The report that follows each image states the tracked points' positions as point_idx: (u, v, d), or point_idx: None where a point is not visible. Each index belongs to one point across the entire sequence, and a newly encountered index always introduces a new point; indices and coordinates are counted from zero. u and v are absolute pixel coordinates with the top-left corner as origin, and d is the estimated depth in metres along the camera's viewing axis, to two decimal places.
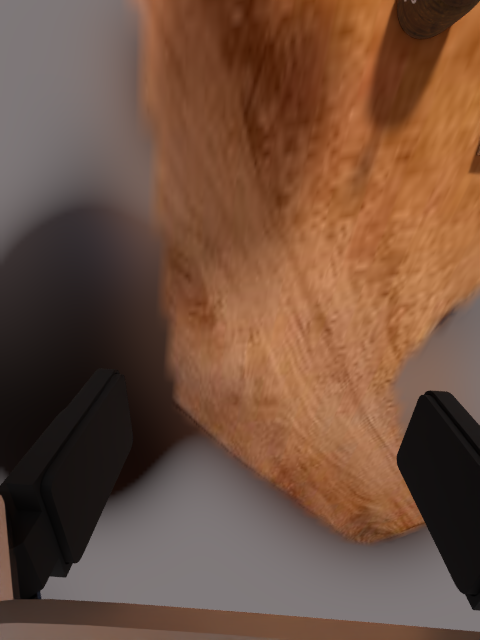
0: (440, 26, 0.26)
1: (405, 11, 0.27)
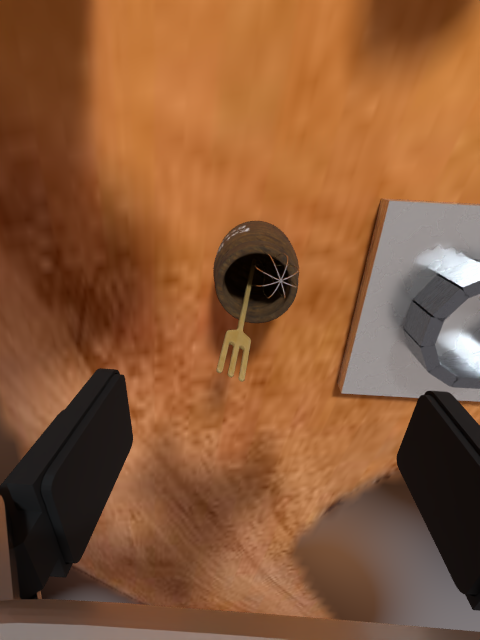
0: (256, 306, 0.23)
1: None
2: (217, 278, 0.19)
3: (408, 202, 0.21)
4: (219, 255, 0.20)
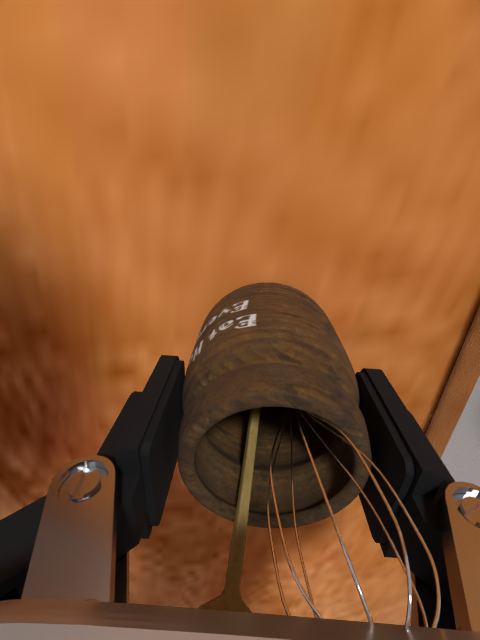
0: None
1: None
2: (180, 452, 0.08)
3: None
4: (191, 375, 0.09)
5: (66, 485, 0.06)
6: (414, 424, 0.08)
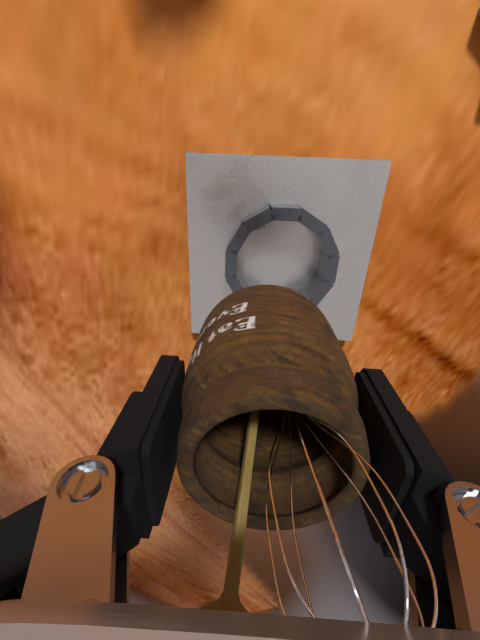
0: None
1: None
2: (179, 454, 0.08)
3: (201, 153, 0.26)
4: (191, 378, 0.09)
5: (66, 485, 0.06)
6: (414, 424, 0.08)
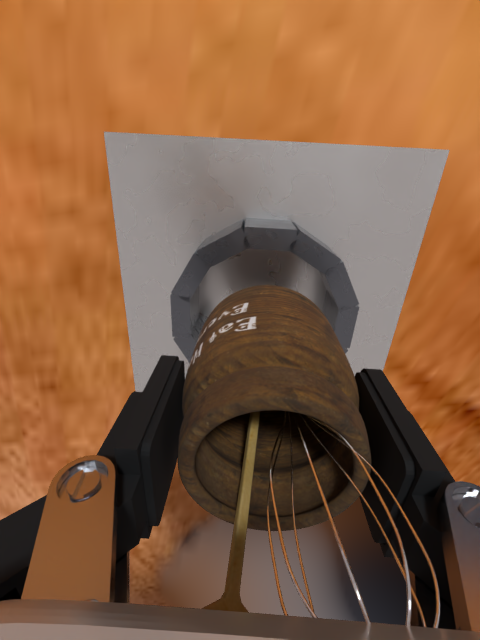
0: None
1: None
2: (180, 455, 0.08)
3: (131, 134, 0.15)
4: (191, 378, 0.09)
5: (66, 485, 0.06)
6: (414, 424, 0.08)
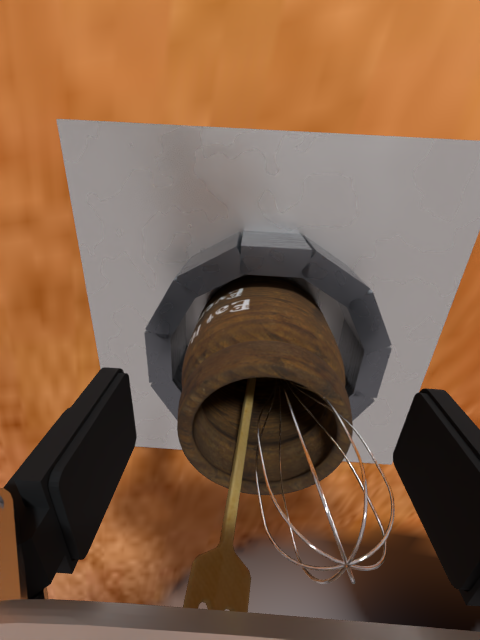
0: None
1: None
2: (179, 421, 0.09)
3: (92, 122, 0.12)
4: (190, 355, 0.10)
5: None
6: None
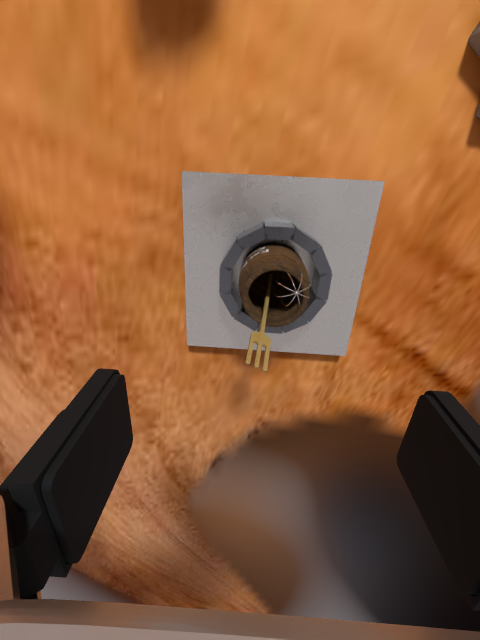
0: (273, 314, 0.28)
1: None
2: (243, 290, 0.23)
3: (197, 172, 0.26)
4: (244, 271, 0.24)
5: None
6: None
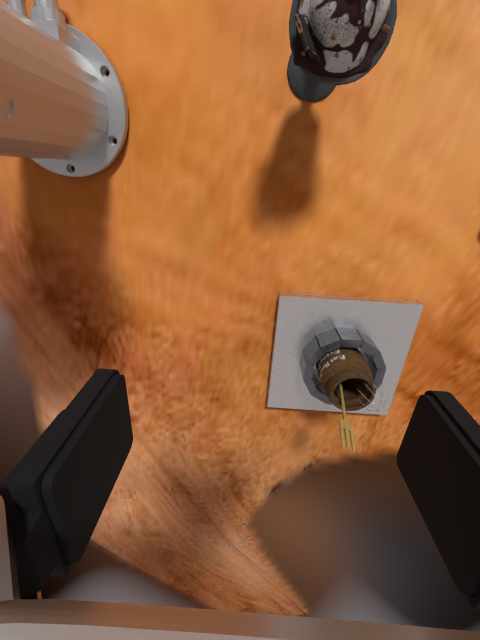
0: None
1: None
2: (331, 389, 0.34)
3: (291, 296, 0.37)
4: (328, 371, 0.35)
5: None
6: None
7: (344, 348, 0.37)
